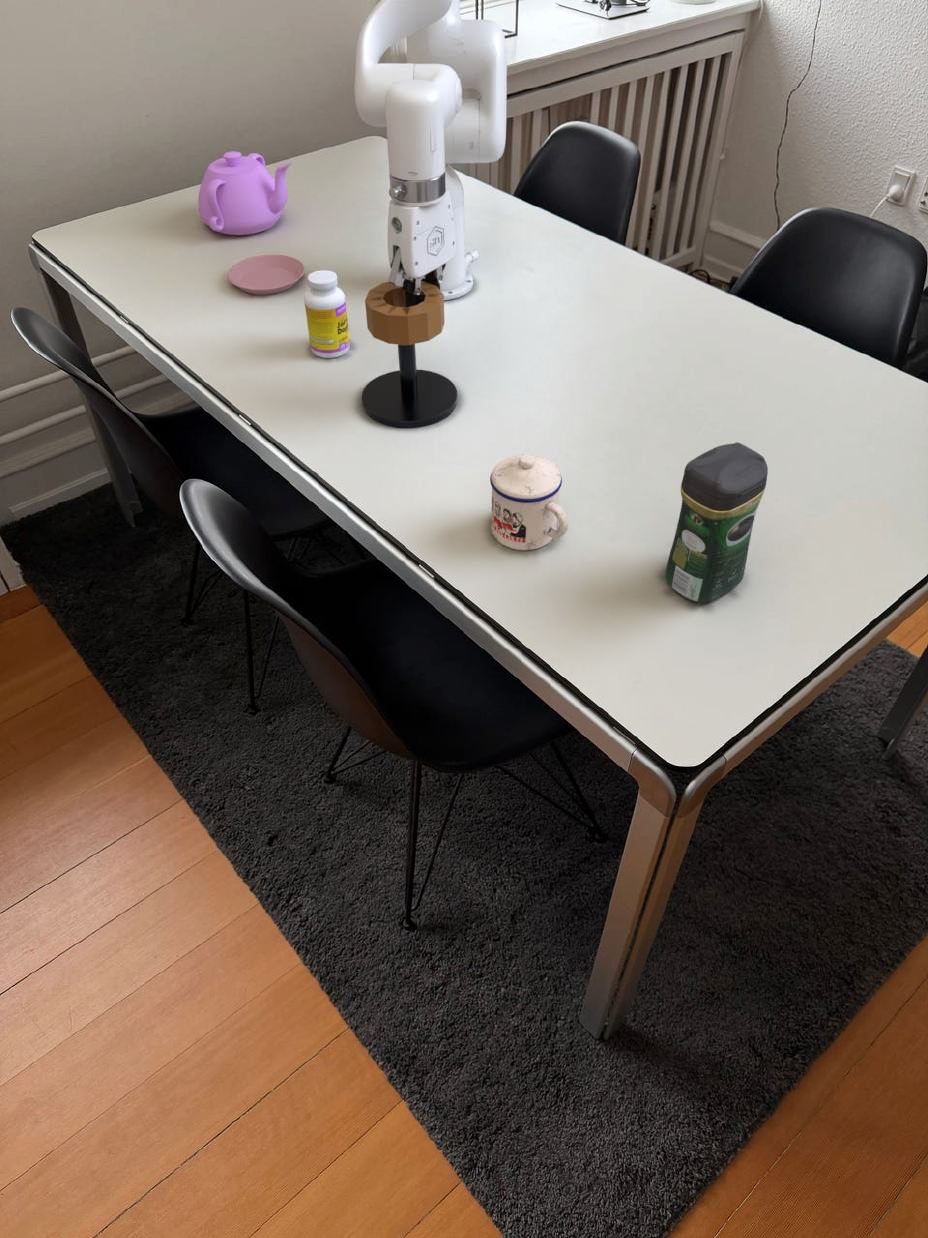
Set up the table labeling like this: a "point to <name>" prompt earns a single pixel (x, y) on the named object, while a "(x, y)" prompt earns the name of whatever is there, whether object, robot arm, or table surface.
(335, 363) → the table surface
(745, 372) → the table surface
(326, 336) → the supplement bottle
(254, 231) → the teapot
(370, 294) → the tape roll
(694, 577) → the coffee jar
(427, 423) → the stand
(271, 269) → the plate
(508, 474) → the teacup with lid
